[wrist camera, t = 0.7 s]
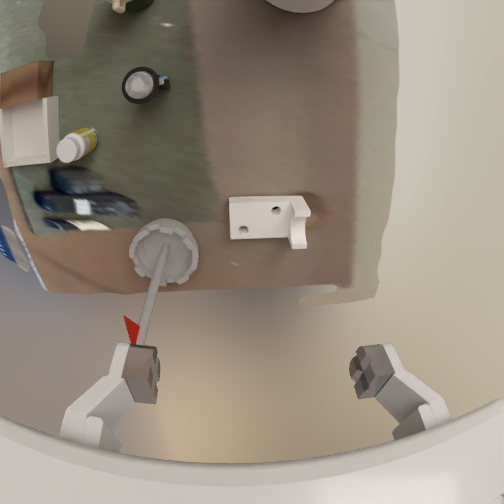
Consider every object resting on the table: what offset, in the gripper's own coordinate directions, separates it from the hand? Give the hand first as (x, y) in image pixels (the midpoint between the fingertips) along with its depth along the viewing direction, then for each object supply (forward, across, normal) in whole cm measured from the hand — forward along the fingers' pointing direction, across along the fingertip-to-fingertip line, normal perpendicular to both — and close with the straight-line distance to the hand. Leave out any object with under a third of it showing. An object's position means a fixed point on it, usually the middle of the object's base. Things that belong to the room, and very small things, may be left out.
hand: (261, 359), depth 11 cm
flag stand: (+42, +12, +21) cm, 49 cm away
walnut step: (+42, +40, -13) cm, 59 cm away
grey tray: (+42, +40, -3) cm, 58 cm away
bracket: (+42, -6, +13) cm, 45 cm away
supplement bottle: (+42, +27, 0) cm, 50 cm away
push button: (+42, +15, -9) cm, 45 cm away
